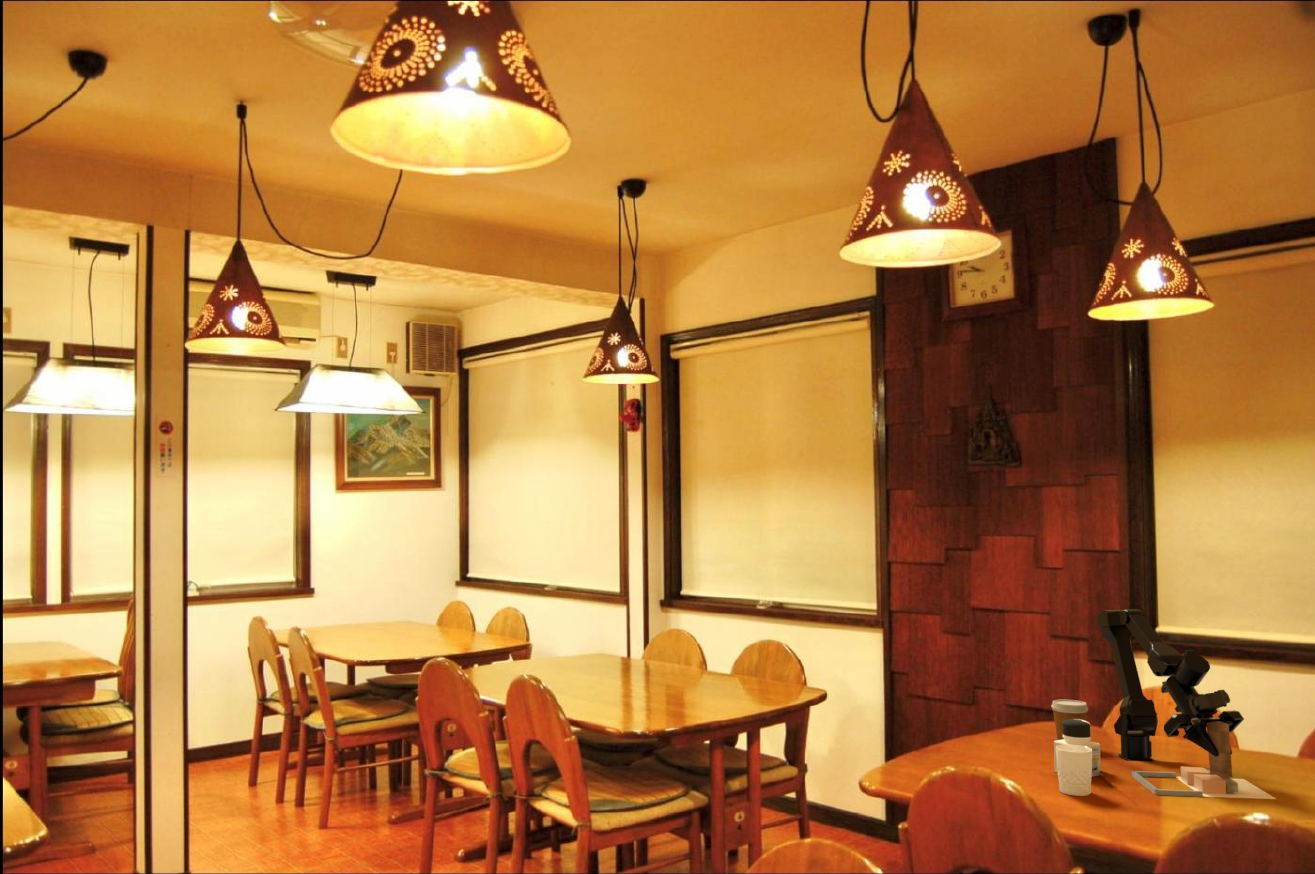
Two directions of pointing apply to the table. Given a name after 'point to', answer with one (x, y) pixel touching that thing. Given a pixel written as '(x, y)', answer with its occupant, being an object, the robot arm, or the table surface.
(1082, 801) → the table surface
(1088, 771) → the white cup
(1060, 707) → the disposable coffee cup
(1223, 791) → the tile
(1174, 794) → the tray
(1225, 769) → the upright brown post
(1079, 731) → the container
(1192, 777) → the tile
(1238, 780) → the board
